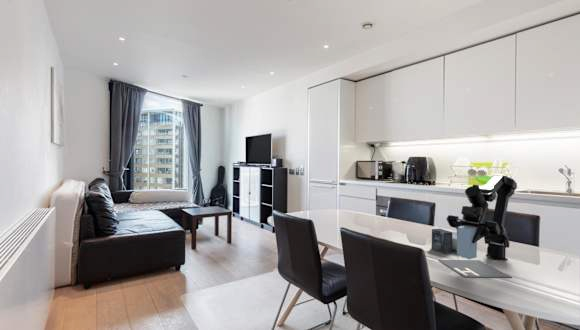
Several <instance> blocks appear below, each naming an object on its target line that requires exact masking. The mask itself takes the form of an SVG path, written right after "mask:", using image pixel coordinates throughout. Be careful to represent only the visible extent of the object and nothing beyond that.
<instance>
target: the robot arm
mask: <svg viewBox="0 0 580 330" xmlns="http://www.w3.org/2000/svg"><path fill="white" fill-rule="evenodd" d="M517 187H518V185H517V182H516V181H515V179H513V178H511V177H509V176H507V175H505V174H493V175H492V177H491V178H490V180H489V181H487V182H486V183H485V184H484V185H481V186H480V185H479V184H472V186H469V187H467V188H466V189H465V191H464V194H465V195H466V197H467V200H468V202H469V203H470V204H471V205H470V206H462V208H461V211H460V213H461V215H463V217H462V218H463V219H462V218H460V217H459V216H458V215H452V214H449V215H448V216H447V217H446V221H447V223H448V225H449V226H450V227H451V228H455V229H456V232H457V238H458V227H460V226H469V227H474V228H477V232H476V234H475V236H474V238H473V241H472V242H473V243H475V242H477V243H478V241H479V240H481V239H483V238H484V239H483V240H484V244H486V245H487V248H486V254H485V257H488V258H491V259H492V260H495V261H501V260H502V261H507V260H509V258H507V257H506V253H507V248H510V243H511V242H510V239H509V237H508V235H507V234H508V232H507V231H506V227H504V226H505V220H506V216H507V210H508V205H509V200H510V198H511V197H512V196H514V194H515V192H516V190H517ZM494 200H495V204H494V205H495V206H494V209H493V211H494V212H493V215H492V221H491V220H485V219H486V218H485V215H486V213H487V211H489V203H492V202H494ZM488 202H489V203H488ZM464 219H465V220H464ZM483 221H484V223H483Z"/></svg>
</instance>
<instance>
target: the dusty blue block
mask: <svg viewBox="0 0 580 330" xmlns="http://www.w3.org/2000/svg"><path fill="white" fill-rule="evenodd" d="M476 232H477V228H475V227H470V226H466V225H463V226H460V227H458V238H457V250H456V255H457V257H461V258H463V259H466V260H474V259H476V258H477V256H478V255H477V251H478V241H477V242H475V243H473V242H472V241H473V238H474V236H475V234H476Z"/></svg>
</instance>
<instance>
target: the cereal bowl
mask: <svg viewBox="0 0 580 330" xmlns="http://www.w3.org/2000/svg"><path fill="white" fill-rule="evenodd" d="M451 232H452V251H457V231H451Z"/></svg>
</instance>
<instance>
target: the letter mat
mask: <svg viewBox="0 0 580 330" xmlns="http://www.w3.org/2000/svg"><path fill="white" fill-rule="evenodd" d="M438 262H440V263H441V264H442V265H444V266H446V267H448V268H449V269H451V270H452V271H454V272H455V273H457V274H458V275H460V276H462V277H463V278H466V279H467V278H470V279H471V278H477V279H478V278H481V279H482V278H483V279H484V278H487V279H489V278H490V279H491V278H492V279H494V278H495V279H511V278H512V275H509V274H507V273H505V272H503V271H501V270H500V269H497V268H495V267H493V266H491V265H489V264H488V263H485V262H483V261H482V260H479V259H438Z"/></svg>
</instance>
